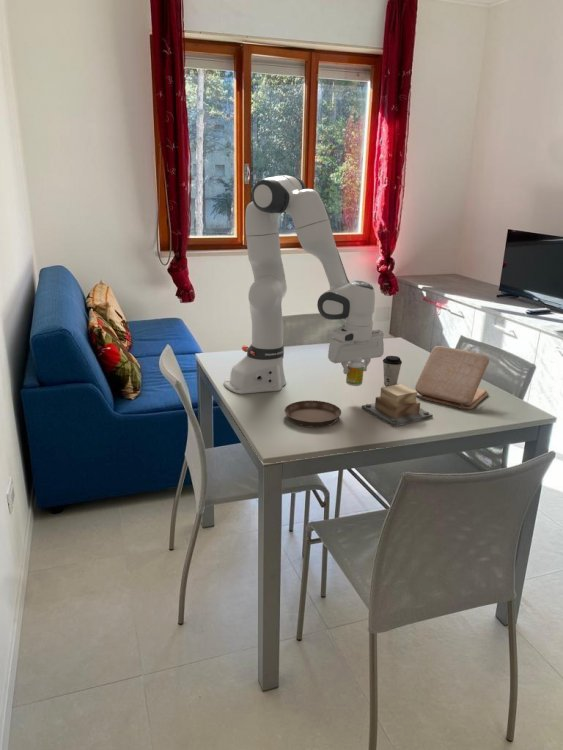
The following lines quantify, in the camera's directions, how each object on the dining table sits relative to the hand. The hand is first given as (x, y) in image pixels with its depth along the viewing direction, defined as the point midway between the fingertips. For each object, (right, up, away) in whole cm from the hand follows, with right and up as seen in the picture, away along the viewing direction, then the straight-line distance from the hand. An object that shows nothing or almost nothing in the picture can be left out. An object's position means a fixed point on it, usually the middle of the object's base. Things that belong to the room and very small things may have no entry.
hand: (354, 372), depth 194 cm
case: (+35, -9, +12) cm, 38 cm away
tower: (+13, -13, -5) cm, 19 cm away
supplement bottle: (0, -4, +1) cm, 4 cm away
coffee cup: (+16, -4, +22) cm, 27 cm away
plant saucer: (-15, -15, -11) cm, 24 cm away
